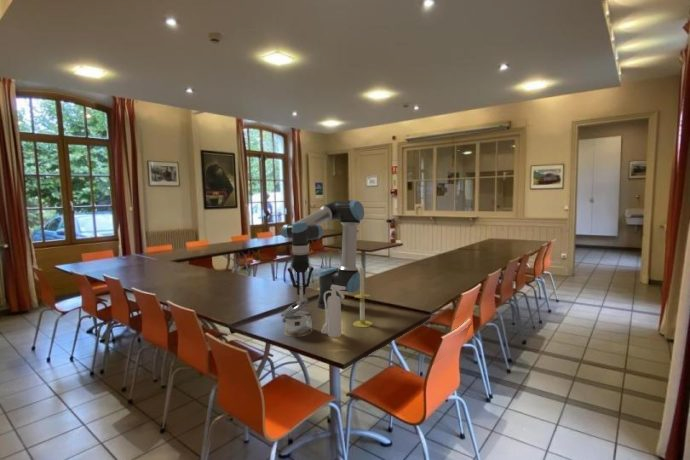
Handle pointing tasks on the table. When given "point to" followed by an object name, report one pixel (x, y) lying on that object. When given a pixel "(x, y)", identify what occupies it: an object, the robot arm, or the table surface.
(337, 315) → the white extinguisher
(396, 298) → the table surface
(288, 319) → the pot
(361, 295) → the candle
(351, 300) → the table surface
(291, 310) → the lid
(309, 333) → the trivet
